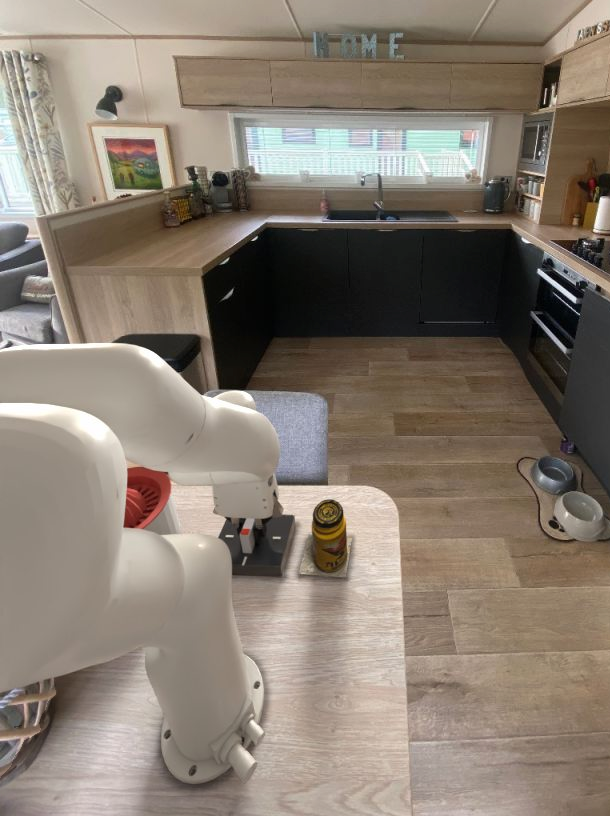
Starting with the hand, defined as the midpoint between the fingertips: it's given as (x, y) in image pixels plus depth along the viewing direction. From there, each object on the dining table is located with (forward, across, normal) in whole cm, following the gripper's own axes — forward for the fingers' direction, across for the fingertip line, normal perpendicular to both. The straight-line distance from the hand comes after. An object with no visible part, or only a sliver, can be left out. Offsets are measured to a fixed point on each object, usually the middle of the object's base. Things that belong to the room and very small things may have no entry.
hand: (253, 536), depth 72 cm
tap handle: (0, 0, 0) cm, 0 cm away
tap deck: (+3, 0, 0) cm, 3 cm away
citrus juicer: (+3, +19, +6) cm, 20 cm away
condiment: (+3, -14, +1) cm, 14 cm away
